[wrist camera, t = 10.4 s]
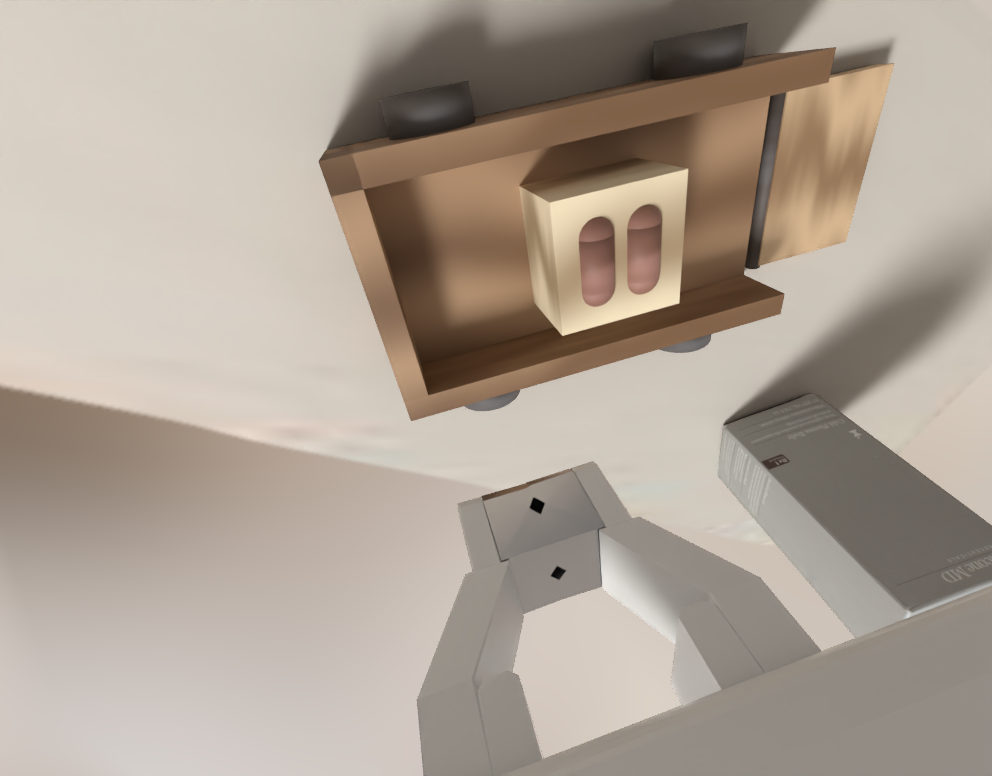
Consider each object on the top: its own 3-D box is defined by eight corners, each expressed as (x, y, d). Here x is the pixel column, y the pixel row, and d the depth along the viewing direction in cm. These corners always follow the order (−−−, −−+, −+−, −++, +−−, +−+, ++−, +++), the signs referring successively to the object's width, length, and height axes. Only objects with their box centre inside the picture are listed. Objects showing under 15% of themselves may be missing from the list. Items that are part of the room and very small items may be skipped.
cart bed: (313, 112, 19) (302, 116, 15) (762, 19, 21) (845, 2, 18) (410, 396, 27) (418, 441, 24) (725, 306, 30) (775, 335, 26)
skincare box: (812, 389, 36) (1064, 551, 23) (797, 453, 40) (1005, 621, 27) (715, 424, 35) (920, 611, 23) (711, 485, 40) (882, 673, 27)
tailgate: (782, 84, 22) (895, 58, 23) (766, 85, 23) (876, 59, 23) (752, 270, 27) (844, 244, 28) (740, 265, 28) (830, 240, 29)
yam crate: (519, 185, 21) (554, 205, 17) (636, 157, 22) (695, 170, 18) (534, 302, 25) (566, 340, 21) (635, 275, 25) (685, 307, 21)
